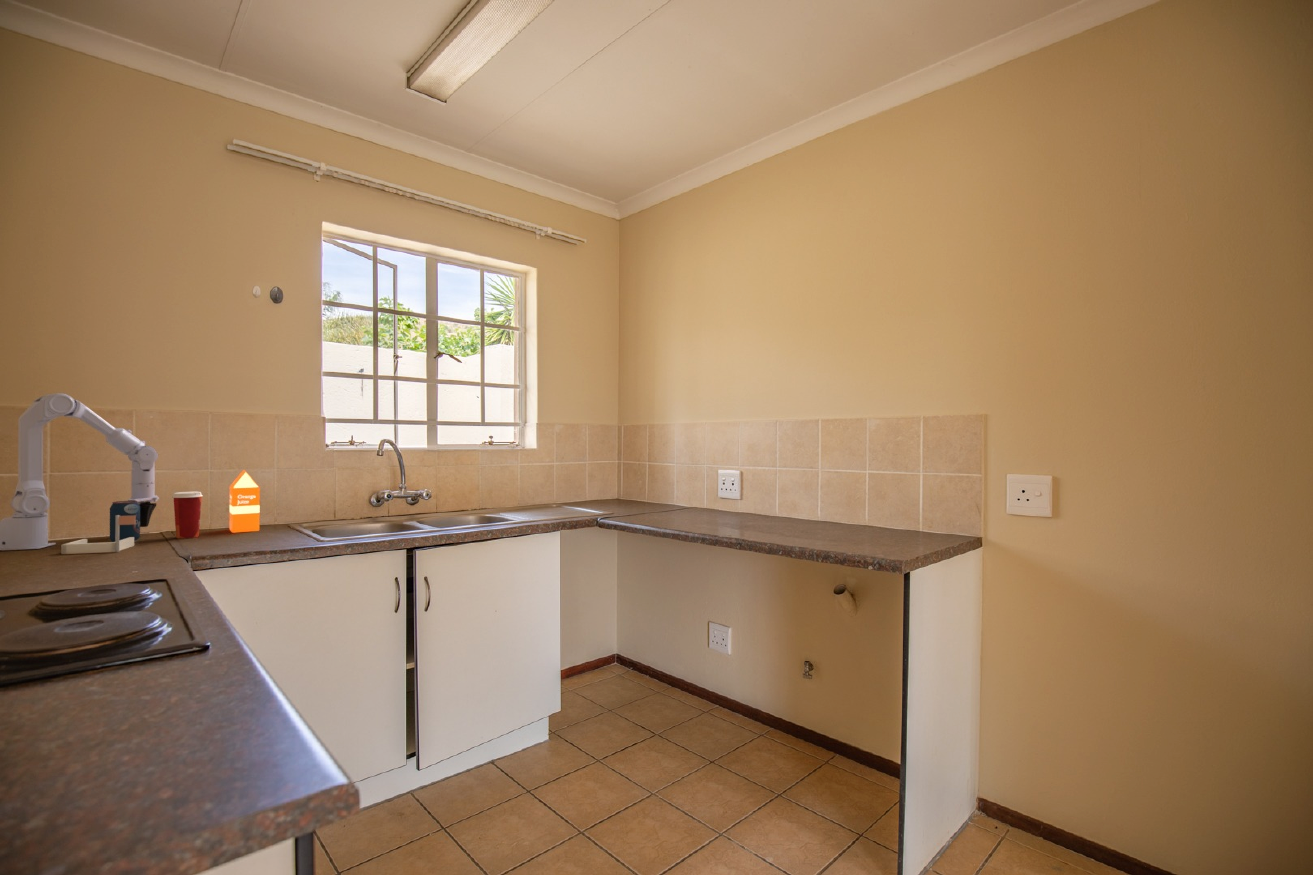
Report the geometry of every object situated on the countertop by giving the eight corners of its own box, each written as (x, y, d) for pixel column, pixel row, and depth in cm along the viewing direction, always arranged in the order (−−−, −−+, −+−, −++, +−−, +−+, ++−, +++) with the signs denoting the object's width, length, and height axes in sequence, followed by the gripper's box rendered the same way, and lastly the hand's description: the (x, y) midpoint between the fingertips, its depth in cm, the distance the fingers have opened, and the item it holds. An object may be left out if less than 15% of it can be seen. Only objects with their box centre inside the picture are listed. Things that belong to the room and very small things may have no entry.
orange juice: (256, 527, 216) (256, 469, 216) (259, 530, 210) (260, 470, 210) (228, 529, 212) (229, 470, 212) (231, 532, 205) (232, 471, 205)
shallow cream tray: (58, 554, 166) (59, 517, 166) (82, 547, 176) (83, 512, 176) (134, 551, 171) (134, 515, 171) (153, 544, 181) (153, 510, 181)
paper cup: (208, 535, 199) (209, 491, 199) (188, 539, 191) (188, 493, 191) (186, 534, 200) (186, 491, 200) (165, 538, 192) (165, 493, 192)
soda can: (142, 541, 187) (142, 501, 187) (111, 544, 182) (111, 503, 182) (137, 538, 192) (137, 499, 192) (107, 541, 186) (107, 501, 186)
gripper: (147, 485, 191) (147, 529, 191) (168, 481, 205) (168, 523, 205) (119, 485, 189) (119, 530, 189) (142, 482, 203) (142, 523, 203)
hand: (143, 526), depth 197 cm, fingers closed
